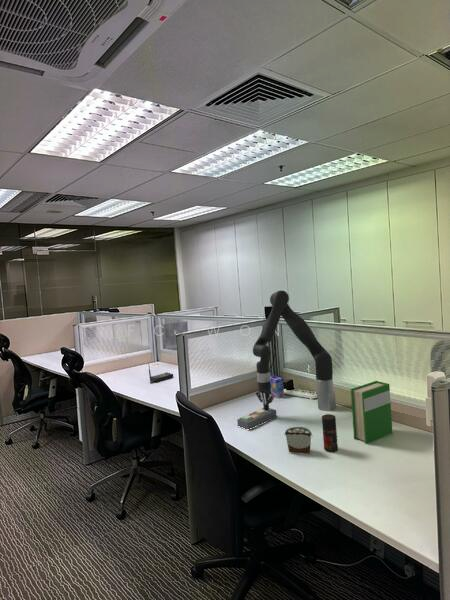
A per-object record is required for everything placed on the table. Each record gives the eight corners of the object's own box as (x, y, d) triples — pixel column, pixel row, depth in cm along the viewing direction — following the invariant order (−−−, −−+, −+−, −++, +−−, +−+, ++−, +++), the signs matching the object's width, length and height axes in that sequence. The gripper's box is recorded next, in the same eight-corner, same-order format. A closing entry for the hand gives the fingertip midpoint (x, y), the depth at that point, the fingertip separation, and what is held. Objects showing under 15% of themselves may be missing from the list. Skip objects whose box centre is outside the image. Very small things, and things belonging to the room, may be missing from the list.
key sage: (252, 421, 206) (251, 416, 206) (247, 424, 203) (246, 418, 203) (247, 420, 209) (246, 414, 209) (241, 422, 207) (241, 416, 206)
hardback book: (366, 444, 175) (363, 392, 173) (354, 438, 181) (350, 389, 179) (392, 433, 183) (389, 383, 181) (379, 428, 190) (376, 380, 188)
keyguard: (276, 416, 216) (276, 409, 216) (248, 430, 201) (247, 423, 201) (266, 413, 222) (265, 406, 222) (237, 426, 207) (237, 419, 207)
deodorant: (322, 446, 176) (320, 414, 175) (335, 445, 176) (333, 413, 175) (325, 452, 170) (323, 419, 169) (339, 451, 170) (337, 418, 169)
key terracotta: (259, 420, 210) (258, 415, 209) (254, 423, 207) (253, 417, 207) (254, 419, 213) (253, 414, 212) (248, 421, 210) (248, 416, 210)
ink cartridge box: (268, 395, 254) (266, 373, 253) (275, 393, 257) (273, 371, 256) (277, 398, 245) (275, 376, 244) (284, 396, 248) (282, 374, 247)
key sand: (265, 415, 213) (265, 410, 213) (260, 417, 210) (260, 412, 210) (260, 413, 216) (259, 408, 216) (255, 416, 213) (254, 410, 213)
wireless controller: (165, 376, 327) (163, 356, 326) (174, 378, 316) (172, 358, 315) (144, 382, 314) (142, 361, 313) (153, 385, 304) (150, 363, 302)
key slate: (272, 415, 216) (271, 409, 216) (267, 417, 214) (266, 412, 214) (266, 413, 219) (266, 408, 219) (262, 415, 217) (261, 410, 217)
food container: (315, 448, 176) (313, 426, 175) (313, 454, 170) (312, 432, 169) (288, 446, 180) (286, 425, 179) (285, 452, 174) (284, 431, 173)
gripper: (277, 380, 213) (279, 410, 214) (260, 376, 223) (262, 405, 224) (268, 383, 208) (270, 414, 209) (250, 379, 218) (253, 409, 219)
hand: (266, 410), depth 216 cm, fingers closed
